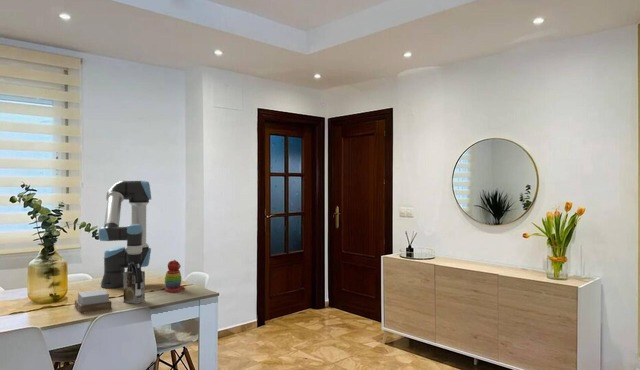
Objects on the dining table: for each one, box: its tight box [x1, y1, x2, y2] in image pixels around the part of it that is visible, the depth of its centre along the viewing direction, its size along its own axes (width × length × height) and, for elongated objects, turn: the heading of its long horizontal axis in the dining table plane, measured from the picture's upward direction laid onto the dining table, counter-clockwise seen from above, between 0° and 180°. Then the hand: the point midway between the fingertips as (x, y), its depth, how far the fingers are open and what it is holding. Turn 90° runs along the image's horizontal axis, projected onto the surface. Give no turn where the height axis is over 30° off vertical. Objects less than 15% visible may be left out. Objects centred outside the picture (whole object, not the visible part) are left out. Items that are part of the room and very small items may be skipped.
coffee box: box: [123, 270, 146, 304], centre depth 239 cm, size 9×6×16 cm
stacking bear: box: [164, 259, 186, 294], centre depth 264 cm, size 11×10×18 cm
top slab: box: [77, 288, 110, 306], centre depth 227 cm, size 12×12×4 cm
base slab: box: [74, 299, 112, 314], centre depth 227 cm, size 14×14×4 cm
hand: (134, 292), depth 239 cm, fingers open, 13 cm apart
